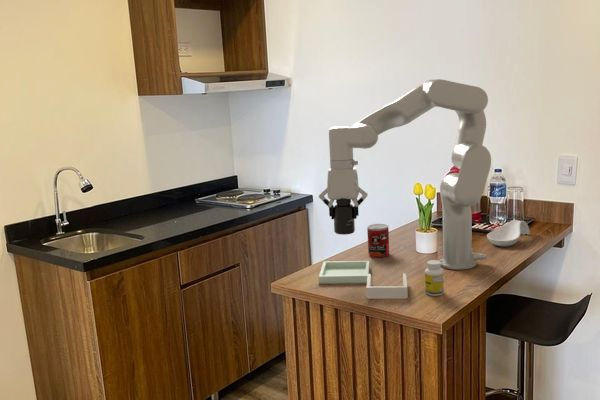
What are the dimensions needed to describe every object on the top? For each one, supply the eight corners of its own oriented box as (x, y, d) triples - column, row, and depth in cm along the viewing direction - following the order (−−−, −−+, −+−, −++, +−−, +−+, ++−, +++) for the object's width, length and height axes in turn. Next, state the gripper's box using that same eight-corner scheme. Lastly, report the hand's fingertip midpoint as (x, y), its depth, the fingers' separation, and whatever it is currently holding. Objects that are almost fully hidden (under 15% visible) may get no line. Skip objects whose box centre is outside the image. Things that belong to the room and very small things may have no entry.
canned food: (366, 257, 213) (364, 228, 211) (371, 251, 221) (370, 223, 219) (386, 258, 211) (385, 229, 208) (391, 252, 218) (390, 223, 216)
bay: (406, 283, 183) (405, 273, 183) (407, 298, 171) (407, 287, 170) (368, 284, 185) (367, 273, 184) (366, 298, 173) (366, 287, 172)
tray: (369, 267, 202) (369, 260, 201) (368, 283, 186) (367, 275, 186) (324, 268, 204) (323, 261, 204) (319, 283, 189) (318, 276, 188)
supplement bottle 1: (353, 235, 188) (352, 198, 185) (333, 235, 189) (331, 199, 187) (356, 229, 194) (354, 194, 192) (335, 229, 196) (334, 195, 193)
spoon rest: (511, 251, 210) (511, 232, 209) (481, 246, 219) (481, 228, 217) (538, 236, 227) (538, 218, 225) (509, 232, 235) (509, 215, 234)
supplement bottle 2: (423, 290, 176) (422, 260, 175) (440, 289, 177) (439, 258, 175) (428, 297, 171) (427, 265, 169) (446, 295, 172) (445, 263, 170)
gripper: (369, 162, 190) (370, 215, 193) (316, 164, 192) (319, 216, 196) (368, 165, 182) (370, 220, 186) (313, 167, 185) (316, 221, 189)
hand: (344, 217), depth 191 cm, fingers closed on supplement bottle 1, 6 cm apart
